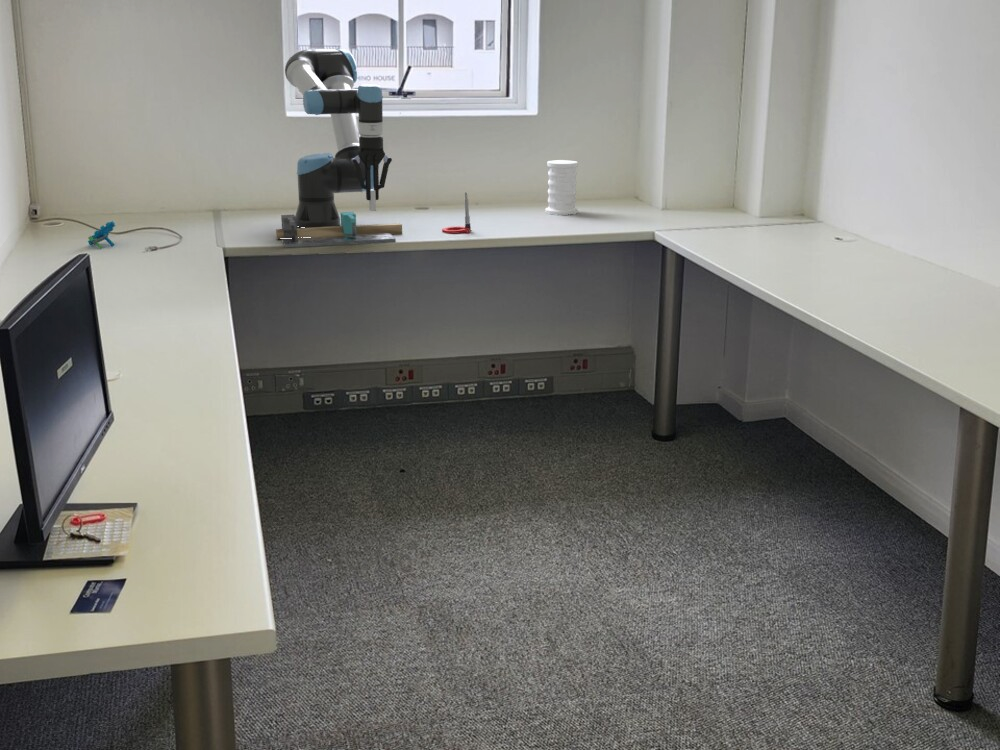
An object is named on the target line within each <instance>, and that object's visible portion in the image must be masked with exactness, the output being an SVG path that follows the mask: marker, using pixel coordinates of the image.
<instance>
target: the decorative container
mask: <svg viewBox="0 0 1000 750" xmlns="http://www.w3.org/2000/svg"><path fill="white" fill-rule="evenodd" d="M546 163H547V166H546V167H548V172H547V175H548V181H547V185H548V189H547V194H548V197H547V203H548V206H547V207H546V208H544V209H545V211H544V212H546V214H547V213H549V214H548V215H552V214H557V215H556V216H571V215H570V214H573V215H577V214H578V209H579V208H577V207H575V206H576V202H577V199H576V193H577V191H576V185H577V180H576V176H577V171H576V169H577V168H576V167H578V165H579V164H578V163H579V162H578V161H576V160H569V159H566V160H565V159H557V160H556V159H555V160H548V161H547V162H546ZM576 213H577V214H576ZM568 214H569V215H568Z"/></svg>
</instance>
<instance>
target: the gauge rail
mask: <svg viewBox="0 0 1000 750" xmlns="http://www.w3.org/2000/svg"><path fill="white" fill-rule="evenodd" d="M280 216H281V218H280V219H281V228H276V229H275V233H276V234H275V235H276V240H277V239H280V238H292V240H295V238H298V237H299V238H301V237H302V238H303V237H330V236H349V235H352V234H343V226H341V225H339V226H332V227H312V228H299V227H297V224H296V214H281V215H280ZM388 233H390V234H391V235H397V234H399V235H400V233H402V234H403V224H402V223H401V222H399V223H393V222H392V223H379V224H378V223H377V224H376V223H374V224H356V235H368V234H388Z"/></svg>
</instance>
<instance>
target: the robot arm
mask: <svg viewBox="0 0 1000 750" xmlns="http://www.w3.org/2000/svg"><path fill="white" fill-rule="evenodd" d="M284 73H285V78H286V79H287V81H288V82H289V84H290V85H291V86H293V87H295V88H297V89H298V91H299V92H300V93H301V95H302V103H303V109H304V112H305V114H307V115H315V116H319V115H320V116H321V115H330V118H331V123H332V128H333V129H332V130H333V132H334V137H335V142H336V147H337V151H336V153H335V155H334V156H333V154H332V153H330V152H328V153H327V152H325V153H316V154H315V153H314V154H310V155H304V156H303V157H301V158H299V159H298V161H297V163H296V166H297V167H296V168H297V169H296V175H297V188H298V189H297V191H298V205H297V210H296V213H295V216H296V224H297V226H299V227H305V228H312V227H332V226H338V225H339V226H341V216H340V213H339V211H338V209H337V207H336V206H337V205H336V203H335V194H340V193H341V194H343V193H345V194H346V193H359V192H360V193H363V192H365V194H366V195H365V199H366V201H368V202H369V211H371V212H375V211H377V209H376V208H377V207H376V206H377V204H376V202H377V201H379V196H380V195H379V191H380V189H383V188H385V184H386V180H387V175H388V171H389V168H390V164H391V162H392V161H393V159H392V158H391V157H390V156H388V155H386V153H385V151H384V137H383V136H382V135H384V129H383V128H384V127H383V121H384V119H383V117H384V116H383V99H384V96H383V88H382V86H381V85H379V84H361V85H359V86H358V87H355V88H354V86H355V83H356V81H357V79H358V71H357V63H356V60H355V58H354V56H353V54H352V53H351V52H350V51H349V50H347V49H340V48H335V49H302V50H300V51H298V52H295V53H294V54H293V55H292V56H291V57H289V58H288V60H287V62H286V63H285V67H284ZM357 114H358V116H357ZM382 160H383V166H382V169H381V174H380V177H379V166H380V163H381V162H382ZM299 227H298V228H299Z"/></svg>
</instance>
